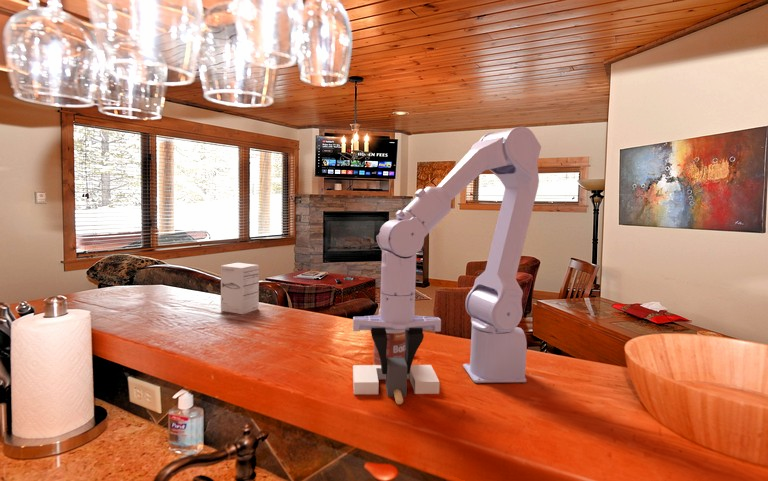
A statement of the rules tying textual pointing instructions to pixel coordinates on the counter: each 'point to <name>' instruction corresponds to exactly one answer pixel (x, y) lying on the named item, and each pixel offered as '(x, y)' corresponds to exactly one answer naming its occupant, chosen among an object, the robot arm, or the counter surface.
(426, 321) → the robot arm
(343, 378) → the counter surface
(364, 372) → the notched board
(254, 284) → the supplement box
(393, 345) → the pill bottle
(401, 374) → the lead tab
